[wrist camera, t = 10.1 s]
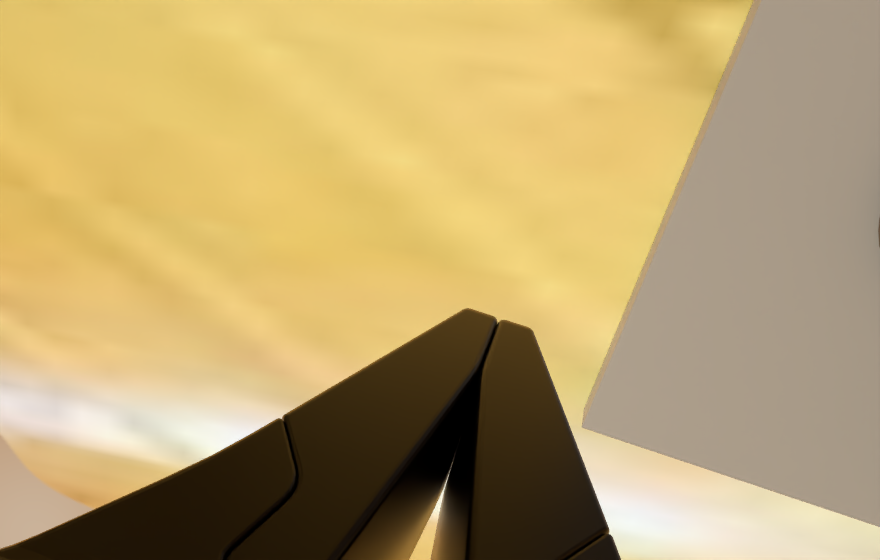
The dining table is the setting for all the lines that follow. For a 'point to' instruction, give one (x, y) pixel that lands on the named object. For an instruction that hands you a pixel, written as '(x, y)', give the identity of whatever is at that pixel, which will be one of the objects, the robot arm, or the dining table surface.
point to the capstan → (879, 232)
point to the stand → (768, 273)
